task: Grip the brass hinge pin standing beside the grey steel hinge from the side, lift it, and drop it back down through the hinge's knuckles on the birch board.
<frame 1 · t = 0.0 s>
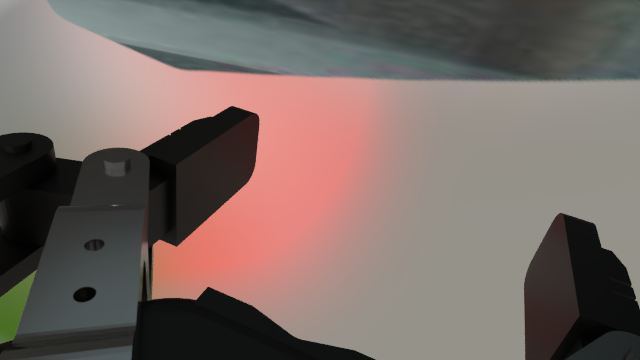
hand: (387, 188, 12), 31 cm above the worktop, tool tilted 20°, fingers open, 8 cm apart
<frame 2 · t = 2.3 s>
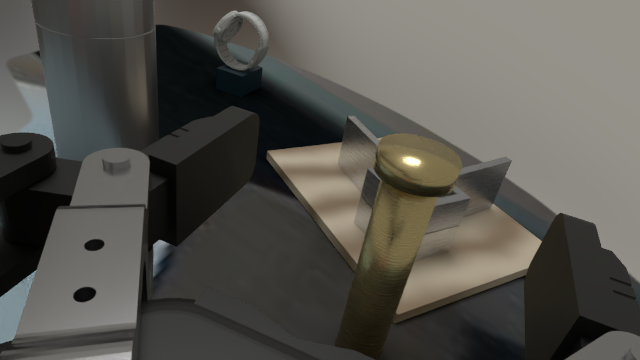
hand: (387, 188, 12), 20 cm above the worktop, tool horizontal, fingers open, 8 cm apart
hinge: (397, 244, 42), resting on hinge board
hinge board: (399, 206, 48), on the worktop
hinge pin: (357, 349, 32), on the worktop
watch: (238, 88, 68), on the worktop
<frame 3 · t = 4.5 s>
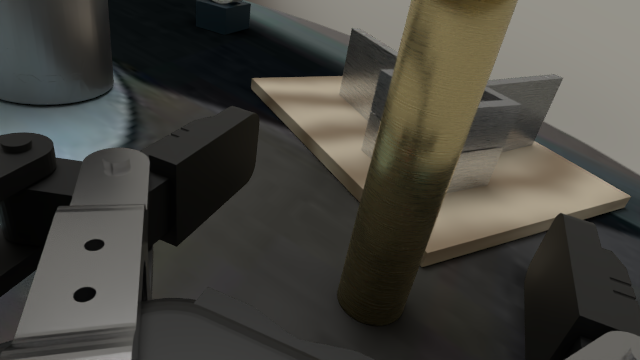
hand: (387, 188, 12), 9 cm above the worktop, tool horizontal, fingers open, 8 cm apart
hinge: (419, 179, 32), resting on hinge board
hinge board: (417, 141, 38), on the worktop
hinge pin: (370, 298, 22), on the worktop
watch: (222, 28, 58), on the worktop
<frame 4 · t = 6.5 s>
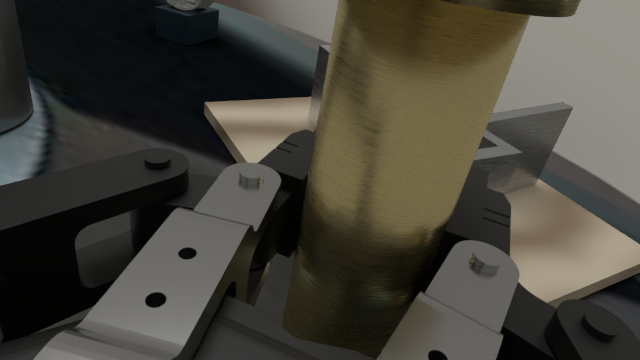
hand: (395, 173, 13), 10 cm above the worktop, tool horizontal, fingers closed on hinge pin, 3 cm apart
hinge: (395, 236, 26), resting on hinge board
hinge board: (398, 181, 32), on the worktop
watch: (186, 38, 52), on the worktop
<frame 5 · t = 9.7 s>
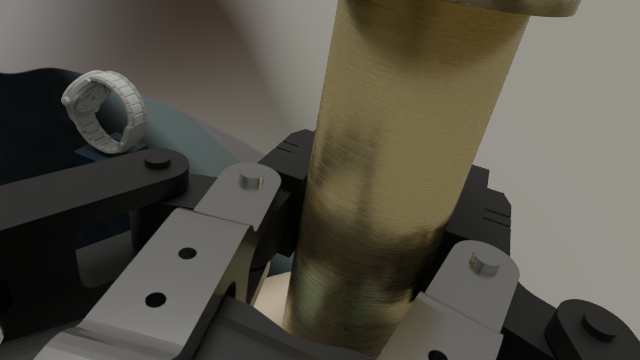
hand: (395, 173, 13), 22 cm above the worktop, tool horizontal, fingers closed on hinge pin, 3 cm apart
watch: (113, 175, 48), on the worktop
when the fingers open (12 cm above the worktop, at t = 12.8 s): hinge pin drops 2 cm, resting on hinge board.
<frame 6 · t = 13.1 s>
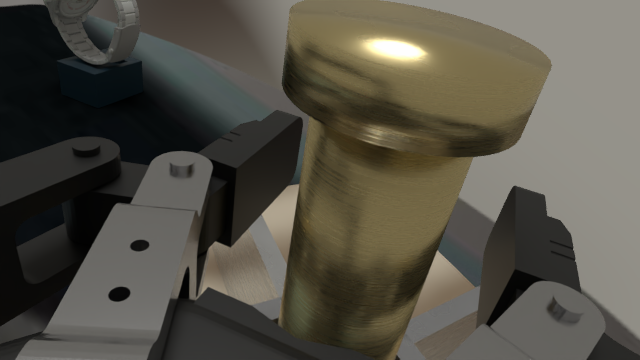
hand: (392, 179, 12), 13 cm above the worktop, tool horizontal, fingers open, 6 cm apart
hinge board: (324, 349, 22), on the worktop
watch: (102, 94, 43), on the worktop
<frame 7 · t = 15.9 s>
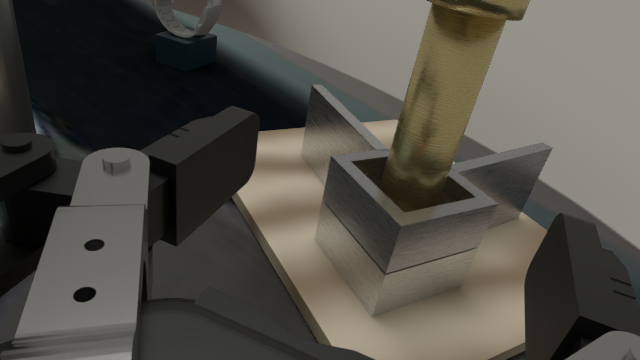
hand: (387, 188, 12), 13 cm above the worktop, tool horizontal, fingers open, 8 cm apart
hinge: (381, 275, 28), resting on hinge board
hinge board: (386, 215, 33), on the worktop
hinge pin: (385, 263, 27), point 1 cm above the worktop, touching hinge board
watch: (185, 62, 54), on the worktop
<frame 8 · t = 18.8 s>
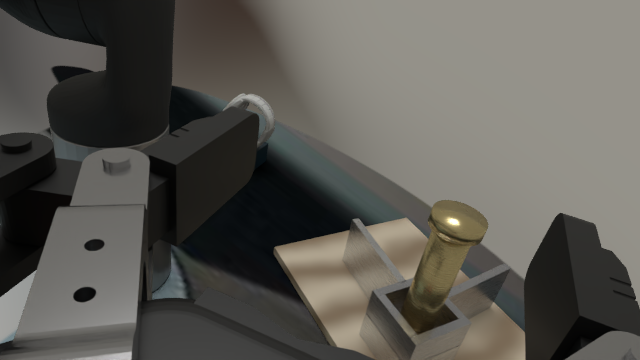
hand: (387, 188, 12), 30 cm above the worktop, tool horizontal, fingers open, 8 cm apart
hinge: (401, 356, 44), resting on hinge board
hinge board: (402, 307, 50), on the worktop
hinge pin: (404, 349, 43), point 1 cm above the worktop, touching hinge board
watch: (244, 164, 70), on the worktop
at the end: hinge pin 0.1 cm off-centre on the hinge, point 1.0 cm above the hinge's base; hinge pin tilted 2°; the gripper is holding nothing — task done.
